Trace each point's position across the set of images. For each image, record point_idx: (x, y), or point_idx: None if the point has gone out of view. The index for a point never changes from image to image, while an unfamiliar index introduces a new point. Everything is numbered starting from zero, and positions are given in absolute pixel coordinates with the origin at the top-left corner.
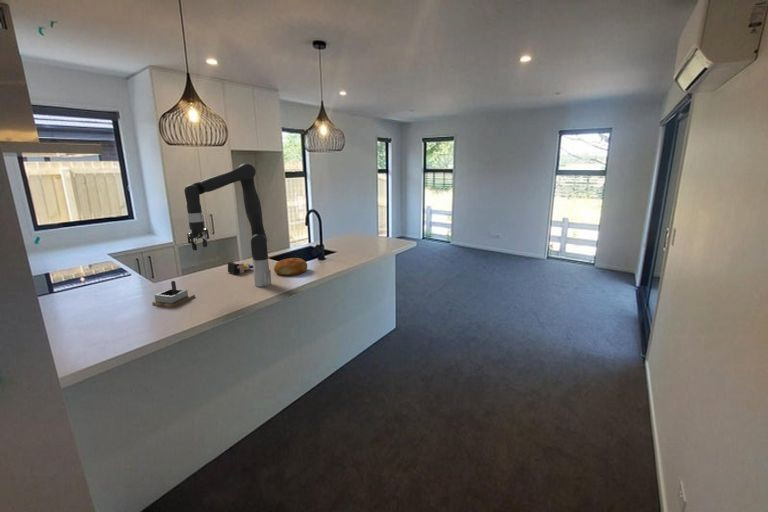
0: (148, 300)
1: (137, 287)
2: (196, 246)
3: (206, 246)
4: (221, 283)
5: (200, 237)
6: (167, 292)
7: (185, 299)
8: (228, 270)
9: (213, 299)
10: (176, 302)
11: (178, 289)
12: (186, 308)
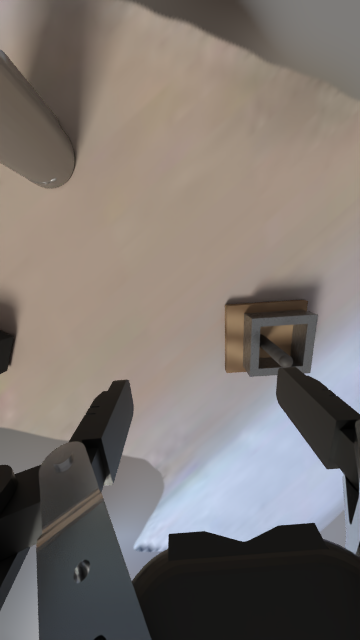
0: (270, 396)
1: (201, 480)
2: (309, 391)
3: (125, 380)
4: (99, 317)
5: (240, 556)
6: (269, 365)
7: (265, 303)
8: (1, 370)
9: (228, 235)
10: (291, 308)
11: (254, 347)
12: (306, 261)
